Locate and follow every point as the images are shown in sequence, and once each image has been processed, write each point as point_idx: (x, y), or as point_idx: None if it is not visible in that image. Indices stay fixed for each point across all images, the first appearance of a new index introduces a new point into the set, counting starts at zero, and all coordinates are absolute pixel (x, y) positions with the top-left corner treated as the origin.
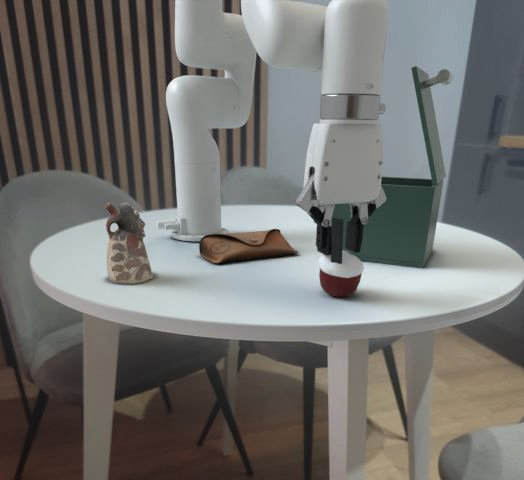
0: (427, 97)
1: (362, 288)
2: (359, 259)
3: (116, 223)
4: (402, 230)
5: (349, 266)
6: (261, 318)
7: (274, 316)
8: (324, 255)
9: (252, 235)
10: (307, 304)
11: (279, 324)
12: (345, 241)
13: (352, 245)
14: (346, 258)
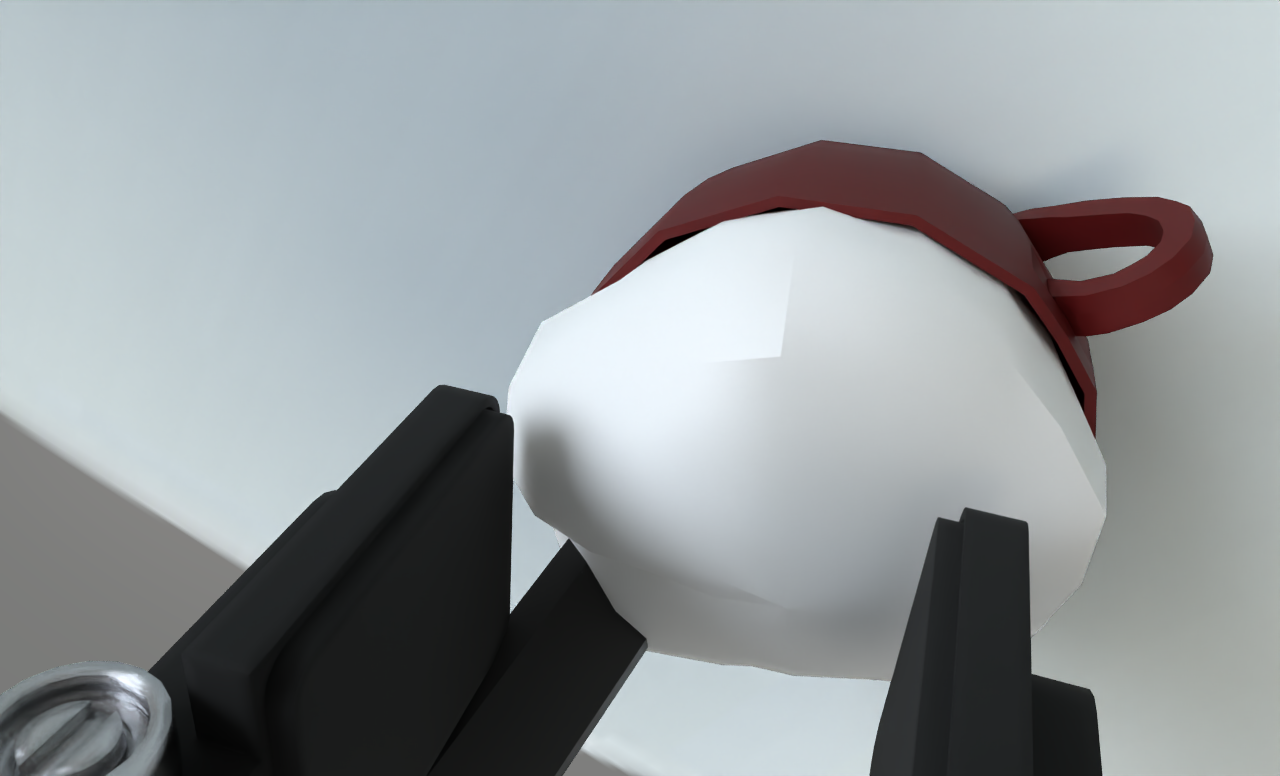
0: None
1: (1263, 290)
2: (1060, 601)
3: None
4: None
5: (742, 664)
6: (73, 375)
7: (155, 394)
8: (522, 466)
9: None
10: (453, 343)
11: (152, 504)
12: (930, 577)
13: (887, 728)
14: (741, 653)
